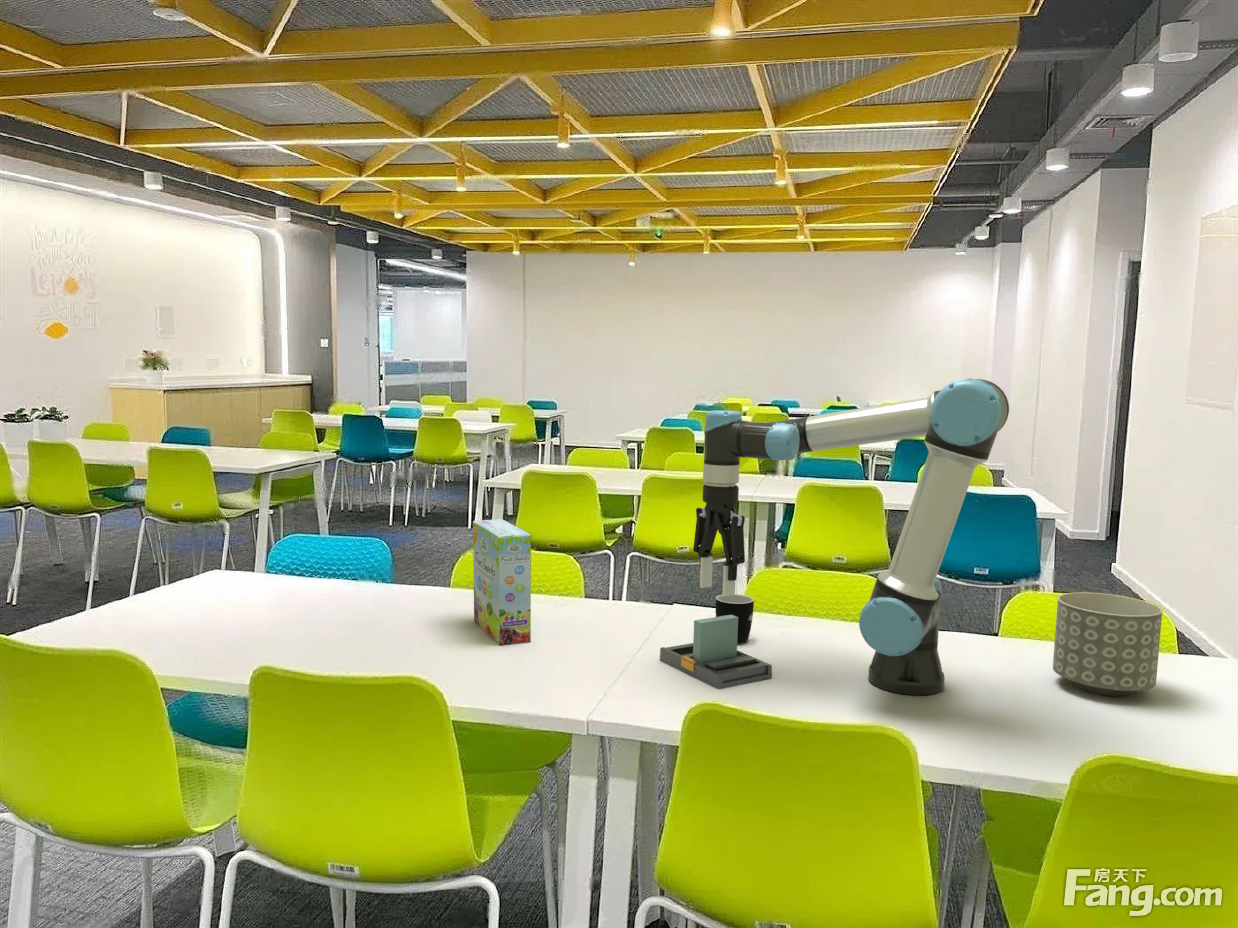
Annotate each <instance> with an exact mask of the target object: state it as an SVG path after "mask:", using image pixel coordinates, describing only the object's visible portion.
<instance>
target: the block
mask: <svg viewBox="0 0 1238 928" xmlns="http://www.w3.org/2000/svg"><path fill="white" fill-rule="evenodd" d="M737 637H738V617H736V616H733V615H726V616H720V617H716V616H715V617H709V618H708V617H706V618H701V619H696V620H694V621H693V638H692V639H693V640H692V641H693V642H692V643H693V660H695V661H698V663H702V662H707V661H712V660H718V659H723V658H729V657H734V656H737V650H738V644H737Z"/></svg>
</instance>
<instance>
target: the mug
mask: <svg viewBox="0 0 1238 928" xmlns="http://www.w3.org/2000/svg"><path fill="white" fill-rule="evenodd" d="M754 600H755V599H754V598H753V597H751V596H749V595H745V594H738V593H735V595H730V596H723V594H719V595H717V596H716V597H715V617H720V616H726V615H733V616H736V617H738V637H737V645H741V644H745V643H746V642H748V639H749V636H750V634H751V630H752V623H753V616H754V609H755V608H754V605H755V603H754V602H755V601H754Z"/></svg>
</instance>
